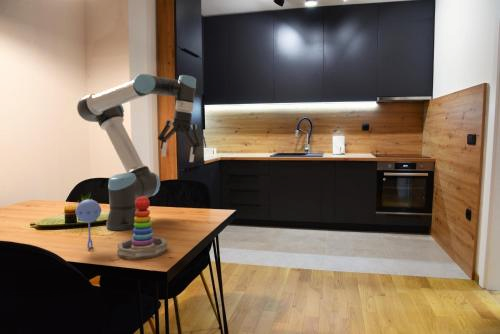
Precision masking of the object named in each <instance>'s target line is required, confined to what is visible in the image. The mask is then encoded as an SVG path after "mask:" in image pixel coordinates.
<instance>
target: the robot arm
mask: <svg viewBox="0 0 500 334" xmlns="http://www.w3.org/2000/svg"><path fill="white" fill-rule="evenodd" d="M196 88H197V79H196V77H194V76H192V75H186V74H181V75H179V77H178V79H173V78H166V77H162V76H161V77H160V76H156V75H151V74H149V73H148V74H147V73H139V74H137V75H136V76H135V77H134V79H133V80H131V81H128V82H126V83H124V84H121V85H118V86H116V87H113V88H110V89H108V90H105V91H103V92H101V93H97V94H96V93H90V94H88V95H86V96H84V97H82V98H80V99H79V101H78V103H77V106H76V108H77V109H76V110H77V113H78V115H79V117H80V118H82V119H83V120H84V121H86V122H87V121H88V122H89V123H90V122H91V123H98V126H100V129H101V130H103V131H105V132H106V134H107V136H108V138H109V140H110V142H111V144H112V146H113V148H114V150H115V152H116V154H117V156H118V158H119V160H120V162H121V164H122V166H123V168H124V171H125V172H122V173H117V174H114V175H111V176H110V177H109V178H108V186H107V188H108V198H109V199H108V201H109V212H108V213H109V214H107V220H106V222H105V223H106V224H105V225H106V226H105V227H106V229H107V230H109V231H129V230H133V229H134V227H135V226H134V223H135V222H136V221H135V220H134V218H135V217H136V215H135V212H136V211H137V210H138V209H137V208H136V206H135V201H136V199H137V198H138V197H141V196H144V197H147V198H148V199H149V198H150V197H153V196H155V195H156V194H158V192H159V190H160V187H161V181H160V177H159V175H158V174H157V173H155V172H153V171H151V170H150V169H149V166H148V165H145V164H144V163H143V162H142V159H141V158H140V155H139V154H138V153H139V152H138V151H137V149H136V148H135V145H134V144H133V141H132V140H131V138H130V136H129V134H128V132H127V129H126V128H125V126H124V119H125V118H124V117H125V108H124V106H123V105H124V104H126V103H130V102H132V101H134V100H137V99H140V98H142V97H146V96H149V95H158V96H162V97H163V96H166V97H167V96H168V97H175V98H176V100H175V101H176V102H175V107H174V108H175V111H174V116H173V120H169V119H167V120H166V124H165V126H164V128H163V129H162V130H161V132H160V134H159V136H157V140H159V141H160V142H161V143H160V144H161V145H160V149H161V158H166V157H167V149H168V142H167V141H168V140H169V139H170V138H171V137H172V136H173V135H174V134H175V133H181V134H185V135H186V136H187V138H188V140H189V142H190V143H191V148H190V154H189V161H188V162H189V163H194V159H195V156H196V155H197V151H198V148H201V147H202V146H203V145H202V141H201V138H200V135H199V131H198V124H192V123H191V122H192V116H193V114H192V113H193V109H194V101H195V100H194V99H195V94H196ZM172 126H173V127H172ZM171 127H172V128H171ZM170 128H171V130H170ZM190 129H191V130H192V132H191V131H190ZM169 130H170V131H169ZM168 131H169V132H168ZM192 134H193V135H192Z"/></svg>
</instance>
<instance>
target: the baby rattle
mask: <svg viewBox="0 0 500 334" xmlns="http://www.w3.org/2000/svg"><path fill="white" fill-rule="evenodd" d="M101 214H102V207H101V205H100V204H99V203H98V201H96V200H94V199H91V198H90V199H84V200H82V201H80V202H79V203H78V204H77V205H76V208H75V215H76V217H77V219H78V220H79V221H81V222H83V223H87V224H88V225H87V226H88V227H87V228H88V230H87V231H88V239H87V245H86V247H87V250H90V249H92V248H93V240H92V238H91V237H92V236H91V223H93V222H95V221H96V220H98V219H99V217H100V216H101Z"/></svg>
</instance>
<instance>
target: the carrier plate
mask: <svg viewBox="0 0 500 334" xmlns="http://www.w3.org/2000/svg"><path fill="white" fill-rule="evenodd" d="M132 239H133V237H132V238H128V239H126V240H124V241H122V242H119V243H117V251H116V252H117V257H118V256H119V257H118V258H120V257H121V258H120V259H122V258H124V259H123V260H127V259H132V260H131V261H141V259H143V260H148V258H150V259H153V257H154V258H158V257H160V256H162V254H163V255H164V254H166V253H167V252H168V241H166V239H165V238H164V237H159V236H153V239H154V241H153V243H154V244H155V246H154V248H148V249H141V250H132V249H131V245H132ZM157 256H158V257H157Z"/></svg>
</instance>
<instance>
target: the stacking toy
mask: <svg viewBox="0 0 500 334" xmlns="http://www.w3.org/2000/svg"><path fill="white" fill-rule="evenodd" d="M150 203H151V202H150V199H149V197H148V198H147V197H144V196H141V197H138V198H137V199H136V201H135V206H136V208H137V209H138V210H137V211H136V212H135V215H136V217H135V218H134V220H135V221H136V222H135V223H134V226H135V227H134V229H132V232H133V233H132V238H133V239H132V245H131V249H132V250H141V249H148V248H154V246H155V244H154V243H153V241H154V239H153V237H154V233H153V227H152V224H153V223H152V221H151V216H150V214H151V211H150V209H149V208H150V205H151V204H150Z"/></svg>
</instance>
